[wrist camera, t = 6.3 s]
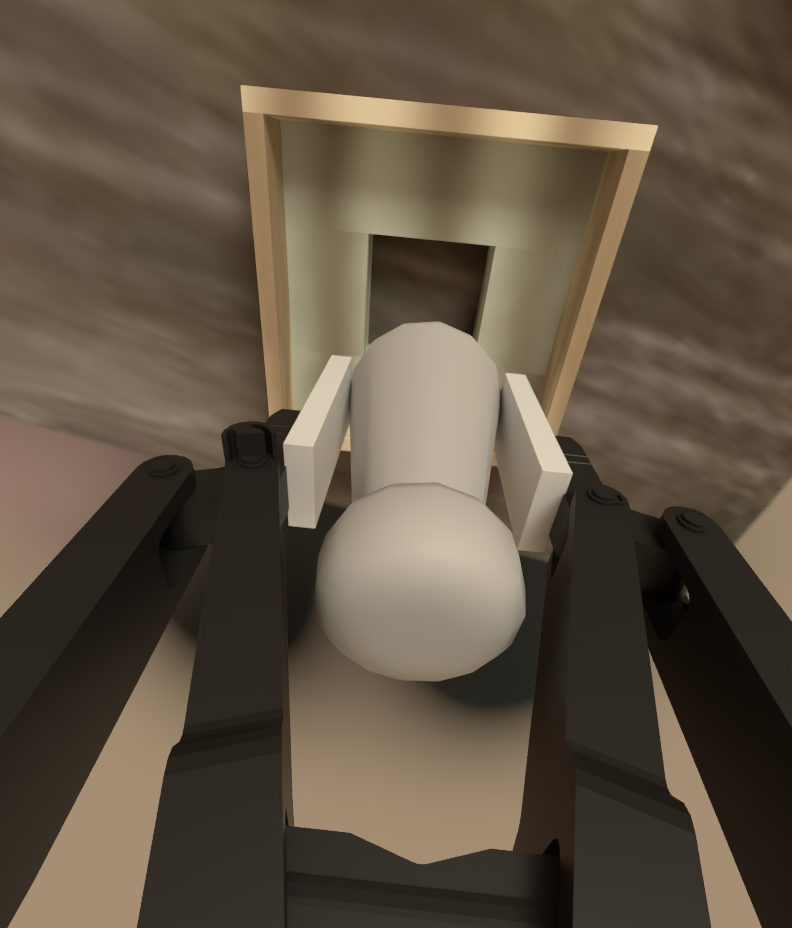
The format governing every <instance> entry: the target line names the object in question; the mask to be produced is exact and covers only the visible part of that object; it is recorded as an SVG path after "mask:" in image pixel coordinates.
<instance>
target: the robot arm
mask: <svg viewBox="0 0 792 928" xmlns="http://www.w3.org/2000/svg"><path fill="white" fill-rule="evenodd" d="M351 371H352V357H346V356H336V355H332V356H331V358H330V359H329V361H328V363H327V365H326V367H325V368H324V370H323V372H322V374H321V376H320V378H319V379H318V381H317V383H316V385H315V387H314V388H313V390H312V392H311V394H310V396H309V398H308V399H307V401H306V403H305V405H304V407H303V408H302V410H301V411H300V410H290V409H280V410H279V411H277V412H275V413H274V414H272V415H271V416H270V417H269V419H268V420H267V422H266V423H262V422H252V421H249V422H241V423H237V424H234V425H231V426H229V427H228V428H226V429H225V430H224V431H223V433H222V434H221V438H222V444H223V450H224V456H225V467H221V468H215V469H206V470H194V468H193V465H192V462H191V460H189V459H187V458H186V457H183V456H178V455H163V456H158V457H154V458H152V459H150V460H147V461H145V462H143V463H142V464H141V465H139V466H138V467H137V468H136V469H135V470H134V471H133V472H132V473H131V474H130V476H129V477H128V478H127V479H126V480H125V481H124V482H123V483H122V484H121V486H119V488H118V489H117V490H116V491H115V492H114V493H113V494H112V495H111V497H110V498H109V499H108V500H107V501H106V502H105V503H104V504H103V505H102V506H101V508H100V509H99V510H98V511H97V512H96V513H95V514H94V515H93V516H92V517H91V519H90V520H89V521H88V522H87V523H86V524H85V525H84V527H82V528H81V530H80V531H79V532H78V533H77V534H76V535H75V536H74V537H73V538H72V540H71V541H70V542H69V543H68V544H67V545H66V546H65V547H64V548H63V549H62V551H61V552H60V553H59V554H58V555H57V556H56V557H55V558H54V559H53V560H52V562H51V563H50V564H49V565H48V566H47V567H46V568H45V569H44V570H43V571H42V573H41V574H40V575H39V576H38V577H37V578H36V579H35V580H34V581H33V583H32V584H31V585H30V586H29V587H28V588H27V589H26V590H25V591H24V592H23V594H22V595H21V596H20V597H19V598H18V599H17V600H16V601H15V602H14V603H13V605H12V606H11V607H10V608H9V609H8V610H7V611H6V612H5V613H4V615H3V616H2V617H1V618H0V928H7V927H8V926H9V924H10V922H11V920H12V919H13V917H14V915H15V913H16V911H17V910H18V908H19V906H20V905H21V903H22V901H23V899H24V897H25V896H26V894H27V892H28V890H29V889H30V887H31V885H32V883H33V881H34V880H35V878H36V876H37V874H38V872H39V870H40V868H41V866H42V864H43V862H44V860H45V859H46V857H47V855H48V853H49V851H50V849H51V847H52V845H53V843H54V841H55V839H56V837H57V836H58V834H59V832H60V830H61V828H62V826H63V824H64V822H65V820H66V818H67V816H68V814H69V812H70V811H71V809H72V807H73V805H74V803H75V801H76V799H77V797H78V795H79V793H80V791H81V789H82V788H83V786H84V784H85V782H86V780H87V778H88V776H89V774H90V772H91V770H92V768H93V766H94V765H95V763H96V761H97V759H98V757H99V755H100V753H101V751H102V749H103V747H104V745H105V743H106V742H107V739H108V737H109V736H110V734H111V732H112V730H113V728H114V726H115V724H116V722H117V720H118V718H119V717H120V715H121V713H122V711H123V709H124V707H125V705H126V703H127V701H128V699H129V697H130V696H131V693H132V692H133V690H134V688H135V686H136V684H137V682H138V680H139V678H140V676H141V674H142V673H143V671H144V669H145V667H146V665H147V663H148V661H149V659H150V657H151V655H152V653H153V651H154V650H155V648H156V646H157V644H158V642H159V640H160V638H161V636H162V634H163V632H164V630H165V628H166V626H167V625H168V623H169V621H170V619H171V617H172V614H173V613H174V611H175V609H176V607H177V605H178V603H179V602H180V600H181V598H182V596H183V594H184V592H185V590H186V588H187V586H188V584H189V582H190V580H191V578H192V577H193V575H194V573H195V570H196V569H197V567H198V565H199V563H200V561H201V559H202V557H203V555H204V554H205V552H206V550H207V547H208V545H211V544H213V546H212V552H211V558H210V566H209V572H208V577H207V584H206V591H205V597H204V603H203V609H202V616H201V622H200V629H199V635H198V642H197V648H196V654H195V661H194V667H193V673H192V679H191V686H190V693H189V699H188V705H187V712H186V718H185V724H184V729H183V734H182V737H181V739H180V742H178V743H177V744H176V745H174V746H173V747H172V750H171V752H170V754H169V757H168V760H167V765H166V769H165V773H164V778H163V784H162V789H161V795H160V801H159V806H158V812H157V818H156V823H155V829H154V834H153V840H152V846H151V851H150V857H149V862H148V868H147V874H146V880H145V885H144V891H143V896H142V902H141V908H140V914H139V919H138V925H137V928H711V923H710V917H709V912H708V905H707V899H706V893H705V888H704V881H703V875H702V870H701V864H700V857H699V852H698V846H697V840H696V835H695V830H694V826H693V823H692V819H691V815H690V814H689V812H688V810H687V808H686V806H685V805H684V803H683V802H681V801H680V800H678V799H676V798H675V797H673V796H672V795H671V794H670V792H669V790H668V788H667V784H666V779H665V772H664V765H663V757H662V749H661V742H660V734H659V727H658V719H657V711H656V705H655V696H654V689H653V681H652V674H651V666H650V658H649V651H650V653H651V656H652V658H653V661H654V663H655V666H656V668H657V671H658V673H659V676H660V678H661V680H662V683H663V685H664V688H665V690H666V693H667V695H668V698H669V700H670V703H671V705H672V707H673V710H674V713H675V715H676V717H677V720H678V722H679V725H680V727H681V730H682V732H683V734H684V737H685V740H686V742H687V744H688V747H689V749H690V752H691V754H692V757H693V759H694V762H695V764H696V766H697V769H698V771H699V774H700V776H701V779H702V781H703V784H704V786H705V789H706V791H707V794H708V796H709V799H710V801H711V804H712V806H713V808H714V811H715V813H716V816H717V818H718V821H719V823H720V825H721V828H722V831H723V833H724V836H725V838H726V840H727V843H728V845H729V848H730V850H731V852H732V855H733V858H734V860H735V863H736V865H737V867H738V870H739V872H740V875H741V877H742V880H743V882H744V885H745V887H746V890H747V892H748V895H749V897H750V899H751V902H752V904H753V907H754V909H755V912H756V914H757V917H758V919H759V922H760V924H761V926H762V928H792V621H791V620H790V619H789V617H788V616H787V615H786V613H785V612H784V611H783V609H782V608H781V607H780V605H779V604H778V603H777V602H776V600H775V599H774V598H773V596H772V595H771V594H770V592H769V591H768V590H767V588H766V587H765V586H764V585H763V583H762V582H761V580H760V579H759V578H758V576H757V575H756V574H755V572H754V571H753V570H752V568H751V567H750V566H749V564H748V563H747V562H746V561H745V559H744V558H743V557H742V555H741V554H740V552H739V551H738V550H737V549H736V547H735V546H734V545H733V543H732V542H731V541H730V539H729V538H728V537H727V535H726V534H725V533H724V531H723V530H722V529H721V527H720V526H719V525H718V524H717V523H716V522H715V521H714V520H712V519H711V518H709V517H707V516H706V515H705V514H703V513H701V512H699V511H697V510H694V509H691V508H685V507H679V506H672V507H669V508H666V509H665V511H664V512H663V514H662V516H661V518H656V517H653V516H650V515H646V514H643V513H639V512H636V511H634V510H631V509H630V506H629V503H628V501H627V499H626V498H625V497H624V496H623V495H622V494H621V493H620V492H618V491H617V490H615V489H613V488H611V487H609V486H606V485H603V484H602V482H601V481H600V479H599V477H598V475H597V473H596V472H595V470H594V468H593V466H592V465H590V461H589V459H588V457H586V454H585V452H584V450H583V448H582V447H581V446H580V445H579V444H578V443H577V442H576V441H574V440H573V439H572V438H571V437H563V436H554V433H553V431H552V429H551V427H550V425H549V423H548V421H547V419H546V417H545V415H544V413H543V411H542V408H541V406H540V404H539V402H538V400H537V398H536V396H535V394H534V392H533V390H532V388H531V386H530V383H529V381H528V379H527V377H526V375H522V374H512V373H505V376H504V380H503V384H502V389H501V403H500V410H499V417H498V424H497V431H496V437H495V444H494V453H495V457H496V461H497V466H498V470H499V474H500V478H501V483H502V487H503V491H504V496H505V500H506V504H507V509H508V513H509V517H510V521H511V526H512V530H513V534H514V539H515V543H516V547H517V550H523V551H533V552H542V553H544V551H545V548H546V545H547V543H548V540H549V537H550V540H551V543H552V546H553V551H552V554H551V556H550V559H549V562H548V564H547V567H546V569H545V572H544V575H543V577H542V580H541V581H543V582H545V581H546V589H545V599H544V608H543V618H542V627H541V635H540V644H539V654H538V663H537V672H536V681H535V691H534V700H533V709H532V719H531V728H530V737H529V747H528V756H527V765H526V774H525V784H524V793H523V803H522V811H521V818H520V824H519V829H518V833H517V837H516V840H515V844H514V847H513V851H506V850H497V849H488V850H484V851H480V852H475V853H471V854H467V855H463V856H459V857H454V858H450V859H446V860H442V861H438V862H434V863H429V864H416V863H413V862H411V861H409V860H407V859H404V858H402V857H400V856H398V855H396V854H394V853H392V852H390V851H388V850H385V849H383V848H381V847H379V846H377V845H375V844H373V843H370V842H368V841H366V840H364V839H362V838H360V837H358V836H355V835H353V834H351V833H346V832H337V831H328V830H319V829H310V828H301V827H294V817H293V800H292V770H291V738H290V705H289V673H288V643H287V609H286V576H285V546H284V545H285V544H284V525H283V522H284V520H285V517H286V515H287V512H288V521H289V526H297V527H306V528H315V527H316V524H317V521H318V518H319V515H320V512H321V509H322V506H323V503H324V500H325V497H326V494H327V491H328V488H329V485H330V482H331V479H332V475H333V472H334V469H335V466H336V463H337V460H338V457H339V454H340V451H341V448H342V445H343V442H344V439H345V436H346V433H347V429H348V426H349V423H350V412H349V403H350V391H351ZM687 591H688V593H689V599H690V601H689V599H688V597H687V595H686V592H687ZM648 649H649V651H648Z"/></svg>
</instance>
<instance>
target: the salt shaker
mask: <svg viewBox="0 0 792 928" xmlns="http://www.w3.org/2000/svg"><path fill="white" fill-rule="evenodd" d="M500 403H501V391H500V385H499V379H498V373H497V367H496V364H495V363H494V362H493V361H492V360H491V358H490V357H489V356H488V355H487V354H486V352H485V351H484V350H483V349H482V348H481V346H480V345H479V344H478V343H477V342H476V340H475V339H474V338H473V337H472V336H471V335H469V334H467V333H464V332H462V331H460V330H458V329H455V328H453V327H451V326H448V325H446V324H444V323H442V322H422V323H404V324H402V325H401V326H399V327H397V328H395V329H393V330H391V331H390V332H388V333H386V334H384V335H382V336H381V337H379V338H377V339H375V340H374V341H373V342H372V343H371V345H370V346H369V348H368V349H367V351H366V352H365V354H364V355H363V357H362V358H361V359H360V361H359V362H358V364H357V365H356V367H355V368H354V370H353V374H352V383H351V391H350V403H349V412H350V449H351V486H352V503H351V504H350V506H349V507H348V508H347V509H346V511H345V512H344V513H343V514H342V516H341V517H340V518H339V519H338V520H337V522H336V523H335V524H334V526H333V527H332V528H331V529H330V530H329V532H328V533H327V534H326V537H325V540H324V542H323V545H322V548H321V551H320V553H319V557H318V567H317V577H316V587H315V602H314V615H315V616H316V618H317V619H318V621H319V623H320V624H321V626H322V627H323V629H324V631H325V632H326V634H327V636H328V637H329V639H330V641H331V642H332V643H333V644H334V645H335V646H336V647H337V649H338V650H339V651H340V652H342V653H343V654H344V655H346V656H347V657H349V658H350V659H351V660H353V661H354V662H356V663H357V664H359V665H360V666H362V667H363V668H365V669H366V670H368V671H371V672H375V673H378V674H382V675H386V676H389V677H392V678H396V679H400V680H415V681H416V680H417V681H441V680H445V679H448V678H453V677H457V676H460V675H464V674H468V673H472V672H474V671H475V670H477V669H478V668H479V667H481V666H483V665H484V664H486V663H487V662H489V661H490V660H492V659H493V658H495V657H496V656H498V655H499V654H500V653H502V652H503V651H504V650H505V649H506V648H507V647H509V646H510V645H511V644H512V642H513V640H514V638H515V636H516V634H517V632H518V630H519V627H520V626H521V623H522V621H523V619H524V617H525V586H524V580H523V575H522V570H521V564H520V559H519V554H518V551H517V548H516V545H515V542H514V539H513V536H512V533H511V531H510V530H509V529H508V528H507V527H506V526H505V524H504V523H503V522H502V521H501V520H500V519H499V518H498V517H497V516H496V515H495V514H494V513H493V512H492V511H491V510H490V509H489V508H488V507H487V506H486V500H487V493H488V486H489V479H490V472H491V465H492V458H493V451H494V444H495V437H496V431H497V424H498V417H499V410H500Z"/></svg>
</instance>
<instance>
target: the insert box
mask: <svg viewBox="0 0 792 928" xmlns="http://www.w3.org/2000/svg"><path fill="white" fill-rule="evenodd" d="M240 86H241V97H242V109H243V120H244V132H245V143H246V155H247V166H248V178H249V189H250V201H251V212H252V223H253V235H254V246H255V258H256V269H257V281H258V292H259V304H260V315H261V327H262V338H263V350H264V361H265V373H266V384H267V396H268V407H269V417H270V416H271V415H272V414H274V413H275V412H277V411H279V410H280V409H290V410H300V411H301V410H302V408H303V407H304V405H305V403H306V401H307V399H308V398H309V396H310V394H311V392H312V390H313V388H314V387H315V385H316V383H317V381H318V379H319V378H320V376H321V374H322V372H323V370H324V368H325V367H326V365H327V363H328V361H329V359H330V358H331V356H332V355H336V356H346V357H352V371H351V383H352V374H353V370H354V368H355V367H356V365H357V364H358V362H359V361H360V359H361V358H362V357H363V355H364V354H365V352H366V351H367V349H368V348H369V346H370V345H371V344H370V343H368V336H369V315H370V294H371V273H372V251H373V234H378V235H388V236H398V237H408V238H418V239H428V240H438V241H448V242H458V243H468V244H478V245H489V248H488V254H487V259H486V265H485V270H484V276H483V282H482V287H481V293H480V298H479V304H478V309H477V315H476V321H475V326H474V332H473V338H474V339H475V340H476V342H477V343H478V344H479V345H480V346H481V348H482V349H483V350H484V351H485V352H486V354H487V355H488V356H489V357H490V358H491V360H492V361H493V362H494V363H495V364H496V367H497V373H498V379H499V385H500V391H501V389H502V384H503V380H504V376H505V373H512V374H522V375H526V377H527V379H528V381H529V383H530V386H531V388H532V390H533V392H534V394H535V396H536V398H537V400H538V402H539V404H540V406H541V408H542V411H543V413H544V415H545V417H546V419H547V421H548V423H549V425H550V427H551V429H552V431H553V433H554V436H557V433H558V430H559V427H560V424H561V421H562V418H563V415H564V412H565V409H566V406H567V403H568V400H569V397H570V394H571V391H572V387H573V384H574V381H575V378H576V375H577V372H578V369H579V366H580V363H581V360H582V357H583V354H584V351H585V348H586V345H587V342H588V339H589V336H590V332H591V329H592V326H593V323H594V320H595V317H596V314H597V311H598V308H599V305H600V302H601V299H602V296H603V293H604V290H605V287H606V284H607V281H608V277H609V274H610V271H611V268H612V265H613V262H614V259H615V256H616V253H617V250H618V247H619V244H620V241H621V238H622V235H623V232H624V229H625V226H626V223H627V219H628V216H629V213H630V210H631V207H632V204H633V201H634V198H635V195H636V192H637V189H638V186H639V183H640V180H641V177H642V174H643V171H644V168H645V164H646V161H647V158H648V155H649V152H650V149H651V146H652V143H653V140H654V137H655V134H656V131H657V128H658V126H657V125H646V124H636V123H626V122H616V121H605V120H595V119H585V118H574V117H564V116H554V115H544V114H533V113H523V112H513V111H502V110H492V109H482V108H472V107H461V106H451V105H441V104H430V103H420V102H410V101H399V100H389V99H379V98H369V97H358V96H348V95H338V94H327V93H317V92H307V91H297V90H286V89H276V88H266V87H255V86H245V85H240ZM341 450H342V451H351V449H350V423H349V426H348V429H347V433H346V436H345V439H344V442H343V445H342V448H341ZM491 466H497V461H496V457H495V453H494V451H493V458H492V465H491Z"/></svg>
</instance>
